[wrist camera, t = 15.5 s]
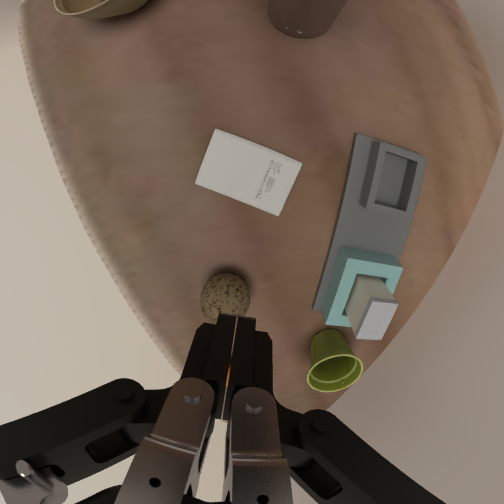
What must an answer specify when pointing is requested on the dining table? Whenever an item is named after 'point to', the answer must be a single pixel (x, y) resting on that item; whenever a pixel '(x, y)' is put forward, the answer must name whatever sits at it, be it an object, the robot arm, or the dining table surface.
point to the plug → (369, 307)
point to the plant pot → (332, 362)
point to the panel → (369, 222)
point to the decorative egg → (224, 297)
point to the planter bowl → (97, 7)
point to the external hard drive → (248, 172)
